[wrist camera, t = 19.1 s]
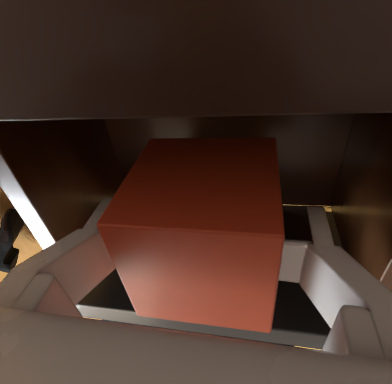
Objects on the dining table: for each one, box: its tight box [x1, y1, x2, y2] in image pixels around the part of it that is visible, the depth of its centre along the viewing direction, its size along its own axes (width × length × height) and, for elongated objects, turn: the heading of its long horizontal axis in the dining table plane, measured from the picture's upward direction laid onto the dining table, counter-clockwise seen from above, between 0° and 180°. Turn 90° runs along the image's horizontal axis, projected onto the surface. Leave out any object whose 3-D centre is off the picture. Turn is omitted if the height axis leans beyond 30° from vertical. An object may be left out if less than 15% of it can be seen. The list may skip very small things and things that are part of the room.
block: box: [97, 138, 285, 333], centre depth 9 cm, size 4×4×4 cm
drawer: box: [0, 113, 392, 349], centre depth 12 cm, size 20×13×7 cm, turn 6°
